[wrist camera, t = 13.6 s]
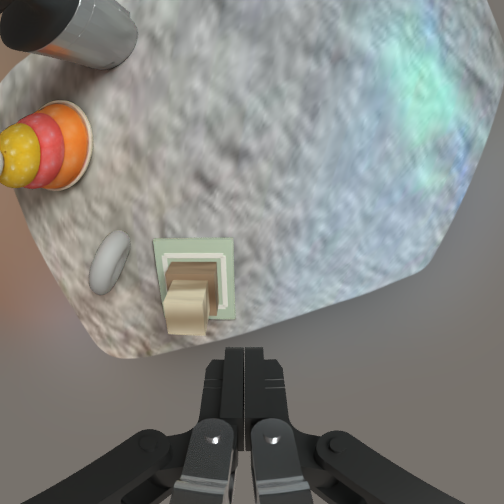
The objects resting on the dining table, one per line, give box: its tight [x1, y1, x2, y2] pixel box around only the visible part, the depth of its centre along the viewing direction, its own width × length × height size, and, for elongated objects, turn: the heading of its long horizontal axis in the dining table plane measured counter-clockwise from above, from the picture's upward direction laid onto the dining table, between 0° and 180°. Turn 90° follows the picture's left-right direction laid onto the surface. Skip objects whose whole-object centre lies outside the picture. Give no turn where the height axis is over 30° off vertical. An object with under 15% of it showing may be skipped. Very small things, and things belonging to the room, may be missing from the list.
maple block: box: [163, 280, 210, 336], centre depth 41 cm, size 5×5×6 cm
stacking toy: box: [0, 100, 93, 191], centre depth 30 cm, size 14×14×20 cm
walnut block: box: [165, 262, 219, 316], centre depth 45 cm, size 7×7×4 cm
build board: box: [153, 238, 235, 319], centre depth 47 cm, size 14×12×1 cm
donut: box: [89, 230, 130, 295], centre depth 41 cm, size 10×3×10 cm, turn 152°
